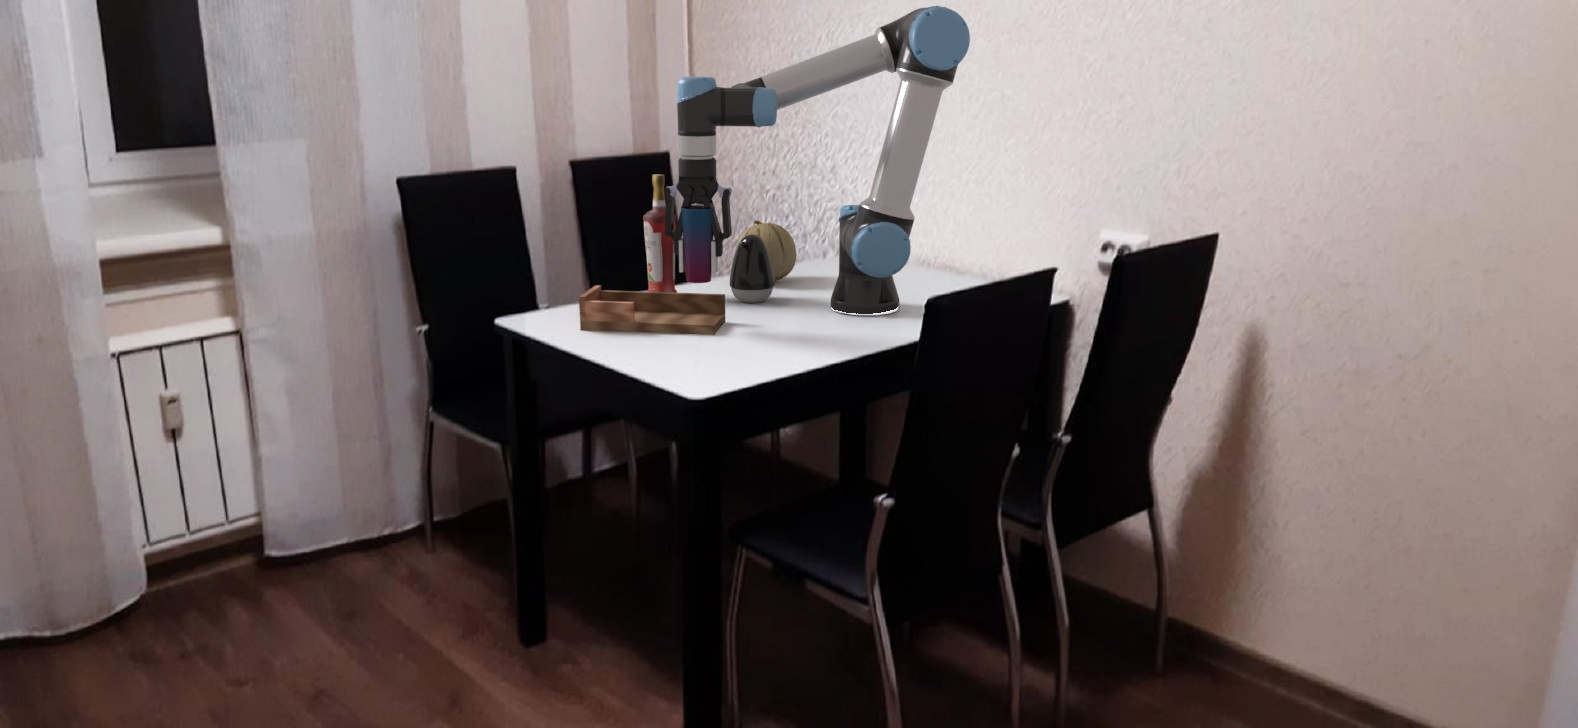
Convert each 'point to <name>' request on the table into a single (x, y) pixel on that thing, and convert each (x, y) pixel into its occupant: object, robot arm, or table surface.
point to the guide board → (651, 312)
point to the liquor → (659, 243)
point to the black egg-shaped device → (752, 271)
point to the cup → (697, 243)
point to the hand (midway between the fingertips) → (698, 271)
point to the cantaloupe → (776, 246)
